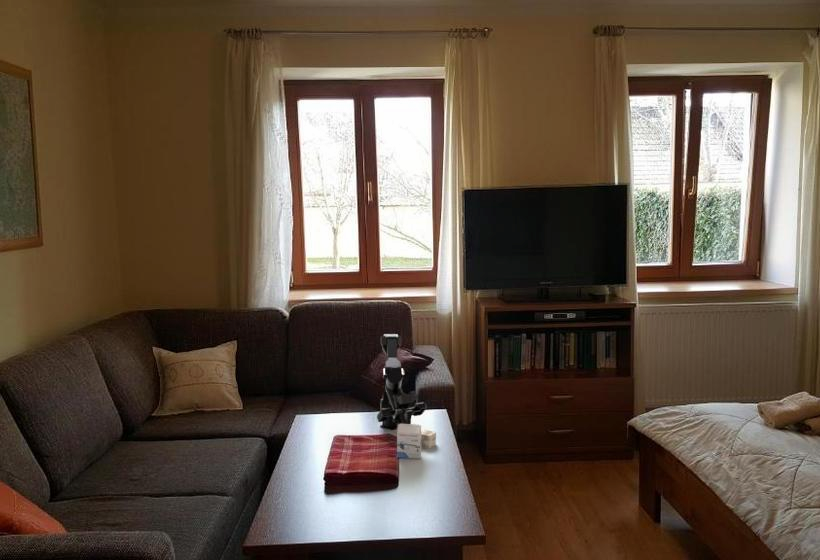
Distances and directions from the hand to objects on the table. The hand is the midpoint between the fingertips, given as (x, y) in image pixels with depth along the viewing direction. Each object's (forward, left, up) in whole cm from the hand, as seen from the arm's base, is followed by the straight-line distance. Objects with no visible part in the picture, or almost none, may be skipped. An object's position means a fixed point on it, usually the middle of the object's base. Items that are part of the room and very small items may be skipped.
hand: (409, 432), depth 230 cm
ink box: (0, 0, -8) cm, 8 cm away
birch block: (+1, +13, -9) cm, 15 cm away
